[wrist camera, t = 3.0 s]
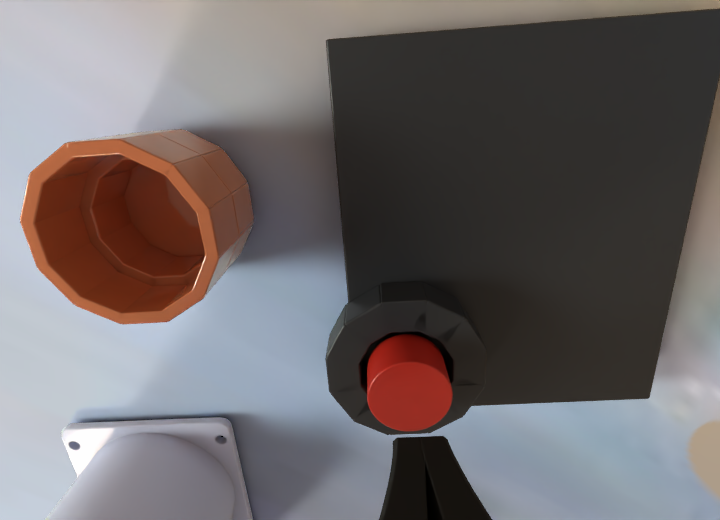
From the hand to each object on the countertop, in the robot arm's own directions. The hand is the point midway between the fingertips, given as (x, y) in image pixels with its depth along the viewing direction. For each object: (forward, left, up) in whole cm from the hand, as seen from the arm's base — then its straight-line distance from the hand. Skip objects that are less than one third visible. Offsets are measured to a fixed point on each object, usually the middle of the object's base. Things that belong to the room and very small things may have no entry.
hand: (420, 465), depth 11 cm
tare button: (0, 0, -4) cm, 4 cm away
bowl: (+6, +8, -7) cm, 12 cm away
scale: (+4, -4, -7) cm, 9 cm away
